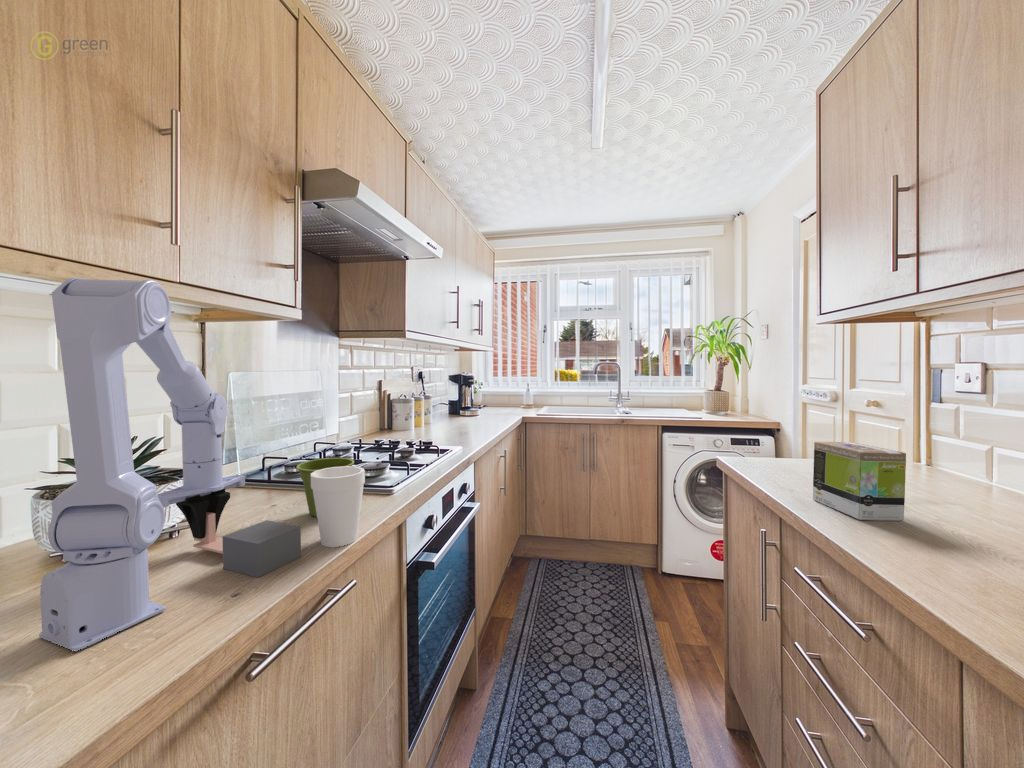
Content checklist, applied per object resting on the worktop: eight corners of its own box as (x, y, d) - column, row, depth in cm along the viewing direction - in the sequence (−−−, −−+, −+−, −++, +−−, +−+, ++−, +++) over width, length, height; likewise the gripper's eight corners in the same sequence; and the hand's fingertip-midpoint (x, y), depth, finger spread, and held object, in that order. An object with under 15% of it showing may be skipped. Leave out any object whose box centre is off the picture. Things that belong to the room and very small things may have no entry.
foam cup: (306, 553, 76) (304, 479, 75) (317, 533, 85) (315, 467, 84) (363, 547, 78) (362, 476, 78) (367, 529, 87) (366, 465, 87)
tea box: (906, 521, 91) (908, 452, 91) (858, 521, 92) (860, 452, 91) (852, 500, 106) (853, 440, 106) (810, 499, 107) (812, 440, 106)
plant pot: (292, 511, 98) (291, 462, 97) (346, 501, 105) (345, 455, 105) (304, 526, 88) (303, 472, 88) (362, 514, 96) (361, 464, 95)
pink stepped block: (226, 554, 72) (226, 522, 72) (185, 545, 76) (184, 514, 76) (249, 545, 76) (248, 515, 76) (208, 536, 80) (208, 508, 80)
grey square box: (258, 577, 67) (257, 543, 67) (223, 568, 70) (222, 536, 70) (301, 556, 74) (300, 526, 74) (267, 549, 77) (266, 520, 77)
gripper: (173, 470, 69) (176, 555, 69) (255, 453, 82) (257, 524, 83) (145, 467, 71) (147, 548, 72) (229, 451, 85) (231, 519, 85)
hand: (204, 535), depth 77 cm, fingers closed
